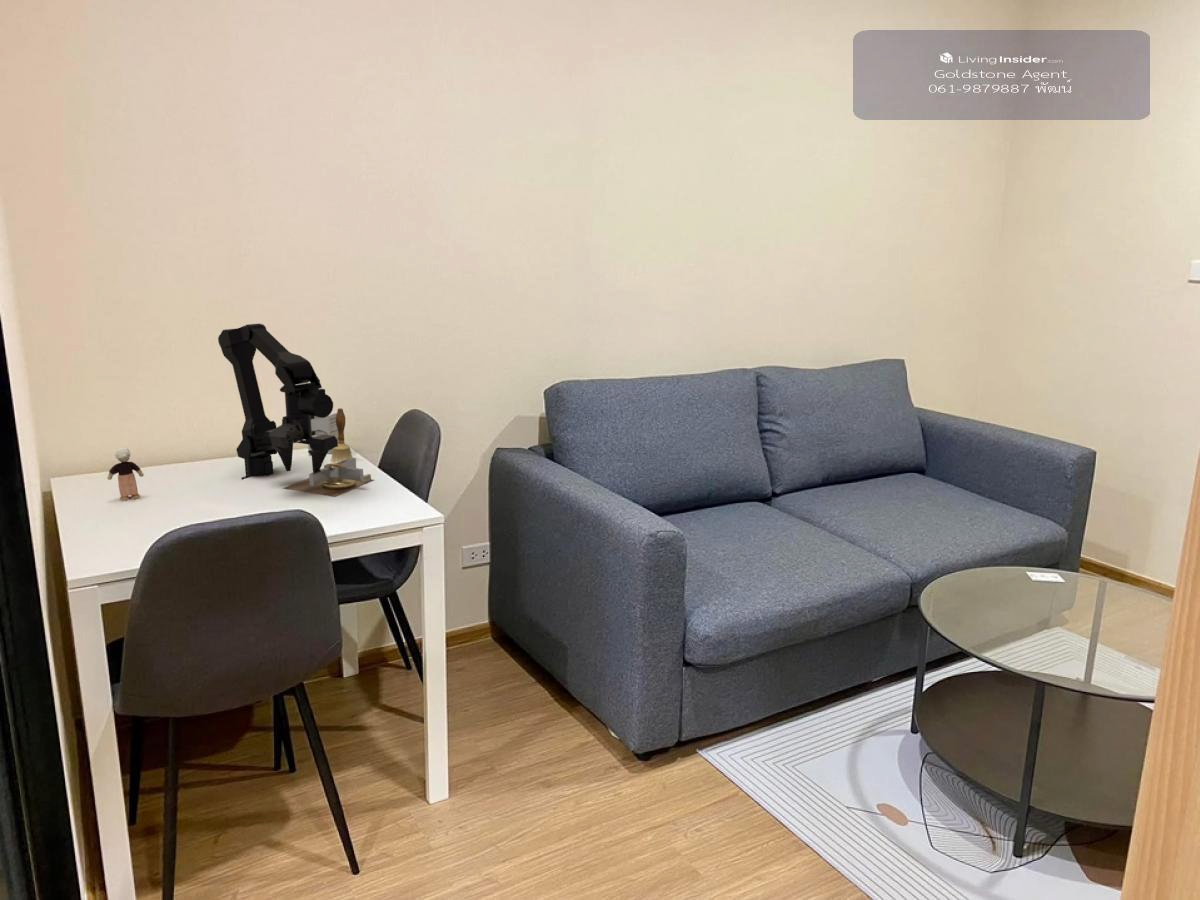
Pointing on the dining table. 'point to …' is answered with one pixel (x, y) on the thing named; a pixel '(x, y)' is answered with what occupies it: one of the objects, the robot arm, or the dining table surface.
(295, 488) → the stand
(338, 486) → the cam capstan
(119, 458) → the grandmother figurine
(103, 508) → the dining table surface
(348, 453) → the hand bell
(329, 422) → the supplement box
